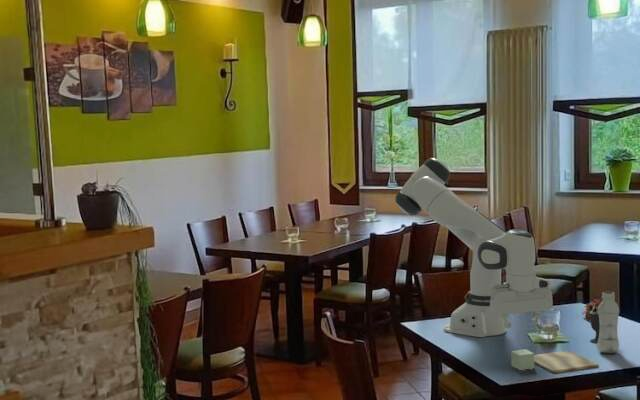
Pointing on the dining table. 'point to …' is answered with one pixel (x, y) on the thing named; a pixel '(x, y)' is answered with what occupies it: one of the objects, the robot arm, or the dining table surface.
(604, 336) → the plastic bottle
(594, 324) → the sundae
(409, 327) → the dining table surface
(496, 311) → the robot arm
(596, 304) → the flower
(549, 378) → the dining table surface
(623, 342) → the dining table surface
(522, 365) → the sage block
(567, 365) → the tan square board
